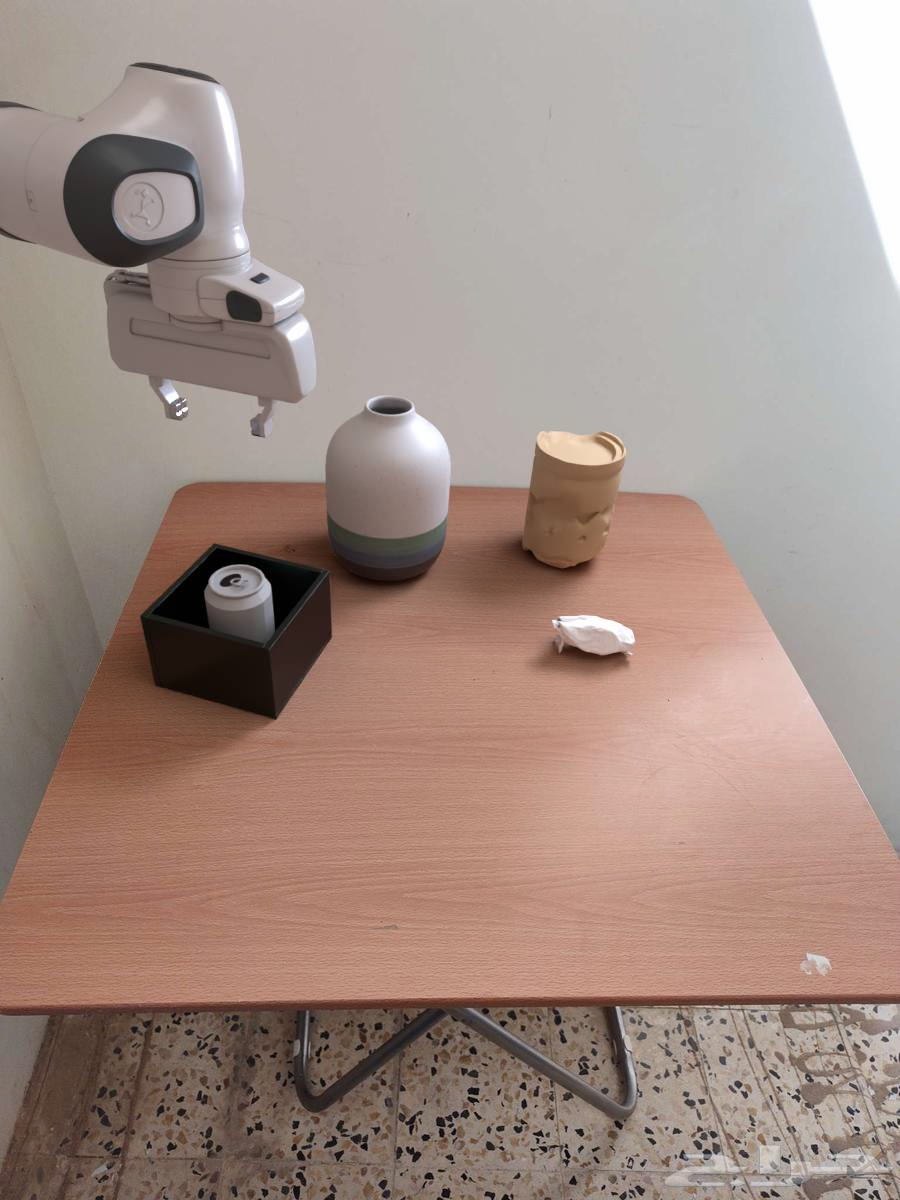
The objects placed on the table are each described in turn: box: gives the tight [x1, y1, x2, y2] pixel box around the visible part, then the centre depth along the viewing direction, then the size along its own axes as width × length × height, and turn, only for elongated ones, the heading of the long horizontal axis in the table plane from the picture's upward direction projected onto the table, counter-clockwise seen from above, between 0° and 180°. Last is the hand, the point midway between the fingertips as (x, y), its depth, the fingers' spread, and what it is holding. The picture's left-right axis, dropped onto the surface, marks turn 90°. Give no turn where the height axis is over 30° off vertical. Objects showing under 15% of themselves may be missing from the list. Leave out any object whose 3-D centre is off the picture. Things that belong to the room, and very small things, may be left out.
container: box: [521, 430, 627, 569], centre depth 117 cm, size 13×13×18 cm
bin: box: [139, 543, 333, 720], centre depth 95 cm, size 16×16×10 cm
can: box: [204, 565, 275, 644], centre depth 94 cm, size 8×8×12 cm
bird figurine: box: [551, 614, 636, 657], centre depth 103 cm, size 5×7×10 cm
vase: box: [324, 394, 452, 582], centre depth 110 cm, size 17×17×24 cm
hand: (219, 426), depth 80 cm, fingers open, 8 cm apart
